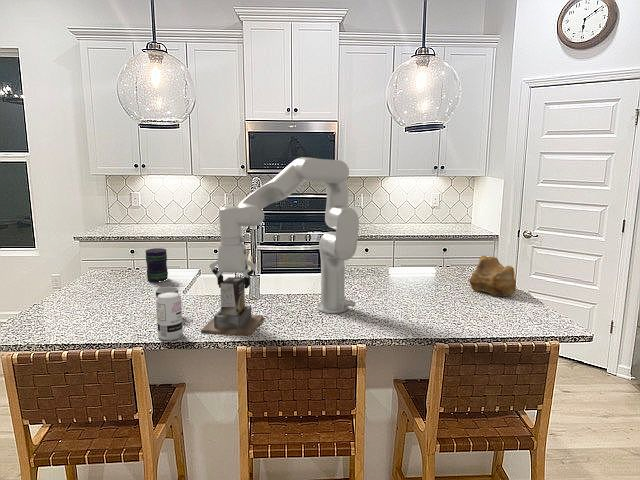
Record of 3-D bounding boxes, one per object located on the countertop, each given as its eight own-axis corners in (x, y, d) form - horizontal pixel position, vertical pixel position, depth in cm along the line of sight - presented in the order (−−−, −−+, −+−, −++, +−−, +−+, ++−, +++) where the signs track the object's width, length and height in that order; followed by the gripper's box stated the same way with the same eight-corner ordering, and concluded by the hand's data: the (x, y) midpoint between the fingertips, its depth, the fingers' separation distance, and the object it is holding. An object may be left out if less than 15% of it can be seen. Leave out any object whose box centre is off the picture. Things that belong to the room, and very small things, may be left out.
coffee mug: (155, 312, 194) (154, 288, 192) (178, 309, 197) (177, 285, 195) (158, 322, 183) (157, 296, 181) (182, 319, 186) (181, 293, 185)
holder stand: (263, 318, 188) (263, 304, 187) (250, 335, 170) (250, 320, 169) (218, 315, 190) (217, 302, 189) (201, 332, 173) (200, 317, 172)
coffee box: (237, 327, 175) (236, 283, 172) (220, 326, 176) (219, 282, 173) (246, 318, 184) (245, 277, 181) (229, 317, 185) (228, 276, 182)
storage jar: (153, 276, 246) (151, 247, 243) (171, 277, 245) (170, 248, 242) (143, 282, 236) (141, 252, 233) (162, 283, 235) (160, 252, 232)
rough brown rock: (458, 287, 234) (458, 257, 231) (490, 282, 237) (490, 252, 234) (485, 303, 212) (485, 270, 208) (519, 298, 215) (520, 265, 212)
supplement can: (161, 332, 173) (158, 291, 170) (185, 331, 173) (183, 291, 171) (155, 341, 165) (153, 298, 162) (180, 340, 166) (178, 298, 163)
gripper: (257, 239, 177) (259, 284, 180) (211, 238, 179) (214, 283, 183) (252, 243, 170) (254, 290, 173) (204, 243, 172) (207, 289, 175)
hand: (234, 287), depth 178 cm, fingers open, 9 cm apart
